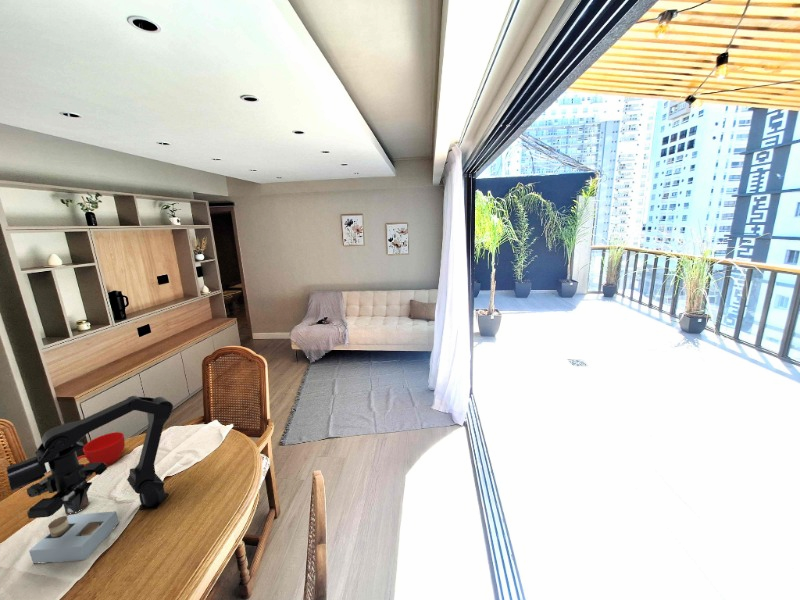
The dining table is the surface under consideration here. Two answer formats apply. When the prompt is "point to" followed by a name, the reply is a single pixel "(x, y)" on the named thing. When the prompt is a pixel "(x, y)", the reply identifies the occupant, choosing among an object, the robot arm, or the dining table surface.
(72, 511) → the supplement bottle
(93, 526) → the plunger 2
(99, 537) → the block
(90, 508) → the dining table surface
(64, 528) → the plunger
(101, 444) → the ceramic cup
